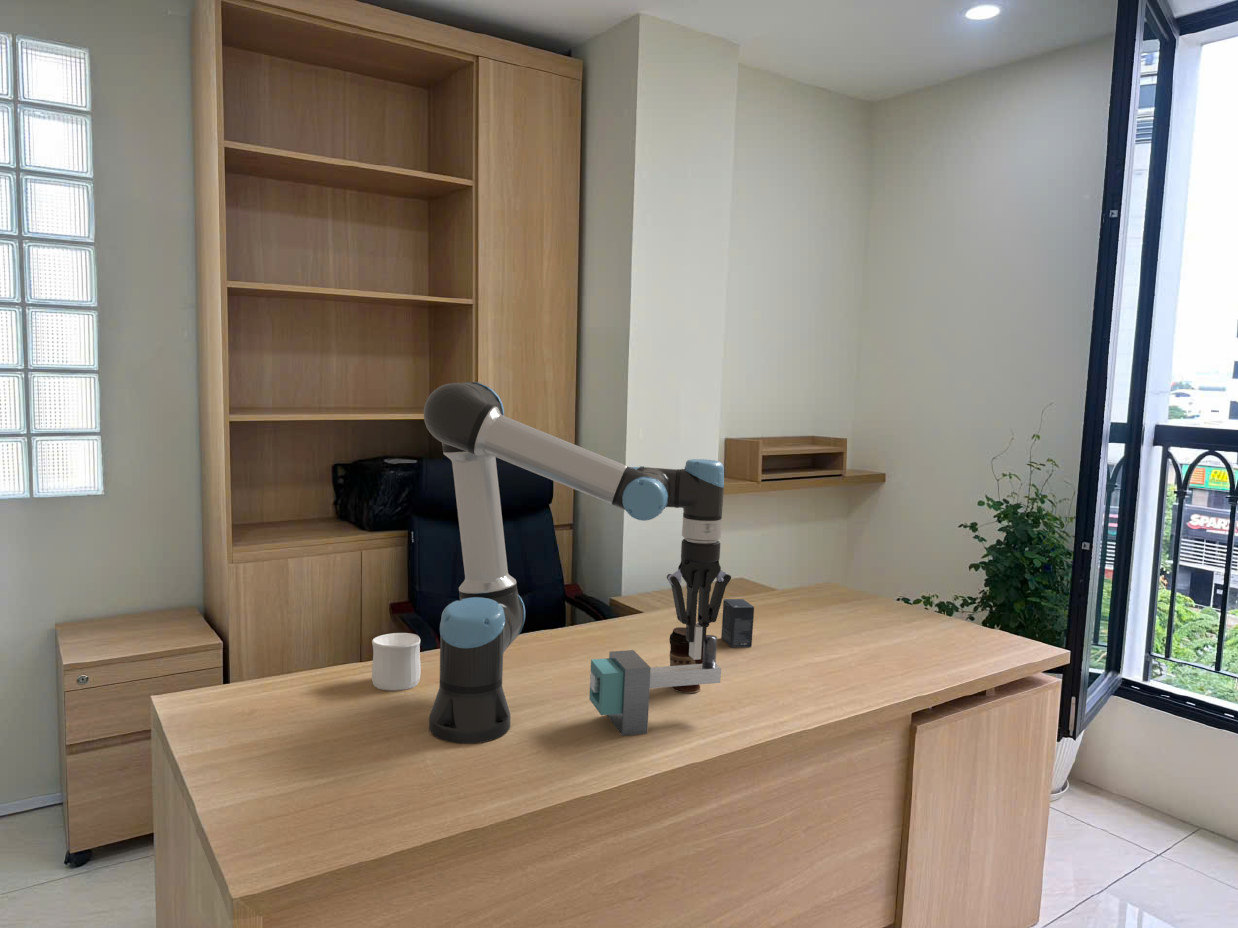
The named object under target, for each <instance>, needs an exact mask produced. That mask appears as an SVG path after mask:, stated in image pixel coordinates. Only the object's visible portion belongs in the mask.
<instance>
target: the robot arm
mask: <svg viewBox="0 0 1238 928" xmlns="http://www.w3.org/2000/svg"><path fill="white" fill-rule="evenodd" d="M423 406H424V407H423V420H424V424H425V427H426V429H427V430H428V432H429V433H430V434H431V435H432V437H433V438H434V439H436V440H437V441H438V442H441V446H442V452H443V455H444V456H445V457H447V458H448V459H449V460H450V461H451V465H452V472H453V480H454V490H455V491H454V492H455V499H456V509H457V519H458V526H459V533H460V534H459V535H460V543H461V552H462V553H461V554H462V562H463V569H464V580H463V581H462V583H461V584H460V585H459V587H458V594H459V600H454V601H452V602H450V603H448V605H447V606H445V608H444V609H443V611H442V613H441V619H440V623H439V634H440V640H439V641H440V642H439V645H440V646H439V685H438V690H437V693H436V696H435V699H434V702H433V705H432V708H431V711H430V713H429V715H428V716H429V717H428V730H429V732H430V734H431V735H432V736H434V737H435V738H437V739H439V740H442V741H445V742H449V743H453V744H454V743H456V744H477V743H484V742H489V741H493V740H496V739H498V738H501V737H503V736H504V735H505V734H507V733H508V732H509V731H510V728H511V711H510V709H509V705H508V702H507V698H506V696H505V692H504V688H503V674H504V672H503V669H504V668H503V667H504V666H503V665H504V653H505V651H506V650H507V649H508V648H509V646H510V645H512V644H513V642H514V641H515V640H516V639H517V637H519V635H520V634H521V632H522V630H523V628H524V624H525V621H526V607H525V603H524V601H523V598H522V597H521V596H520V595H519V591H518V586H517V585H518V584H517V580H516V578H514V577H513V576H511V575H510V574H509V570H508V561H507V552H506V543H505V541H506V540H505V533H504V524H503V523H504V522H503V515H502V504H501V495H500V487H499V477H498V468H497V460H496V459H500V460H502V461H504V462H505V463H506V462H507V463H508V464H512V465H514V466H515V467H516V466H517V467H519V468H522V469H523V470H525V471H526V470H527V471H528V472H530V473H533V474H536V475H539V476H542V477H544V478H547V479H548V480H551V481H552V482H556V483H558V484H561V485H563V486H565V487H568V488H571V489H573V490H575V491H578V492H581V493H582V494H585V495H588V496H590V497H593V498H596V499H598V500H600V501H603V502H605V503H608V504H610V505H612V506H614V507H616V508H619V509H622V510H623V511H626V513H627V514H628V515H629V516H631V518H633V519H635V520H638V521H644V522H645V521H646V522H647V521H650V520H654V519H655V518H657V517H658V516H660V514H662V513H663V511H664V510H665V509H666V508H675V509H679V508H680V509H682V510H683V513H682V526H681V527H682V529H681V530H682V531H681V537H683V538H682V540H681V545H680V546H681V547H680V548H681V549H680V550H681V551H680V563H679V565H678V568H677V570H676V571H675V572H674V573H668V574H666V575H667V576H666V579H667V581H668V583H669V584H670V586H671V591H672V597H673V602H674V607H675V615H676V618H677V620H678V621H679V622H680V623H682V624H683V625H686V626H685V627H686V640H687V641H688V642H690V643H689V656H690V657H692V658H693V659H694V660H697V659H701V647H702V641H705V640H706V635H707V629H708V628H709V626H710V624H711V623H715V622H717V619H718V616H719V614H720V613H719V612H720V609H721V605H722V602H723V600H724V596H725V595H724V594H725V593H726V592H725V591H726V587H727V585H728V584H729V583H730V581H731V579H732V576H731V575H730V574H729V573H727V572H726V571H724V570H722V566H721V565H720V558H721V542H720V541H719V540H720V539H721V537H722V520H723V506H724V505H723V503H724V489H725V488H724V487H725V467H724V465H723V463H722V462H720V461H718V460H714V459H704V458H703V459H701V458H700V459H698V458H693V459H692V458H691V459H688V460H686V462H685V466H684V468H679V469H678V468H677V469H676V468H675V469H674V468H664V467H663V468H660V467H648V466H647V467H646V466H641V465H639V466H628V465H626V464H623V463H621V462H620V461H619V462H618V461H616V460H614V459H611V458H608V457H606V456H603V455H601V454H599V453H597V452H594V451H591V450H589V449H587V448H584V447H581V446H579V445H577V444H574V443H572V442H569V441H567V440H564V439H562V438H560V437H556V436H555V435H552V434H549V433H547V432H545V431H543V430H542V431H541V430H540V429H537V428H534V427H532V426H530V425H528V424H526V423H522V422H520V421H517V420H515V419H512V418H510V417H509V416H508V417H507V416H506V415H505V408H504V404H503V402H502V399H501V398H500V396H499V395H498V393H497V392H496V391H495V390H493V389H492V388H490V387H489V386H487V385H485V384H484V383H483V384H482V383H479V382H475V381H466V382H451V383H446V384H443V385H440V386H438V387H437V388H436V389H434V390H433V391H432V392H431V393H430V395H429V396H428V397H427V399H426V402H425V404H424V405H423ZM682 579H683V580H684V582H685V583H686V586H685V587H686V603H685V599H684V594H683V593H684V592H683V588H682V586H681V583H682ZM714 581H715V583H714V586H713V591H712V584H713V582H714ZM711 591H712V593H711ZM710 593H711V594H710ZM710 595H711V597H710ZM685 604H686V605H685Z"/></svg>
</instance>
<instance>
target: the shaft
mask: <svg viewBox="0 0 1238 928" xmlns="http://www.w3.org/2000/svg"><path fill="white" fill-rule="evenodd" d="M717 644H718V636H716V635H714V634H706V640H705V641H704V644H703V661H702V664H693V665H679V666H670V665H668V666H654V667H653V666H650V667H651V670H650V689H658V688H670V687H671V688H672V687H673V686H685V685H698V684H699V685H709V684H720V683H721V676H722V668H721V667H720V666H719V665H718V664H717V661H716V659H717V647H718V646H717ZM589 674H590V675H589V677H590V679H589V689H590V688H591V689H592V690H593V692H594V693H596V692H600V678H599V677H598V675H597V674H596V673H595V672H594V671H593V672H591V671H590V672H589Z"/></svg>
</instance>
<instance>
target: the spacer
mask: <svg viewBox="0 0 1238 928" xmlns="http://www.w3.org/2000/svg"><path fill="white" fill-rule="evenodd" d="M593 671H594V672H595V673H596V674H597V675H598V677H599V678H600V692H596V693H594V692H593V690H592V689H591V688H590V687H589V694H588V695H589V696H588V697H589V699H588V700H589V701H590V702H591V704H592V705H593V706H594V708H595V709H596V710H597V712H598V713H599V715H600V716H607V715H611V714H621V711H622V691H623V672H622V670H621V669H620V668H619V667H618V666H617V665H616V664H615V662H614V661H613V660H612V659H611V658H609V657H608V658H593V659H590V672H593Z"/></svg>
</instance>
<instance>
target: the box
mask: <svg viewBox="0 0 1238 928" xmlns="http://www.w3.org/2000/svg"><path fill="white" fill-rule="evenodd" d="M722 602H723V603H722V623H721V635H720V636H721V637H720V638H721V639H722V640H723V641H724V642H725V643H726V644H727V645H728V646H730V647H731V648H752V645H753V632H754V631H753V629H754V620H755V619H754V617H755V616H754V614H755V606H754V605H752V604H751V603H749V602H748V601H747V600H745V599H744V598H723V599H722Z"/></svg>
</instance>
